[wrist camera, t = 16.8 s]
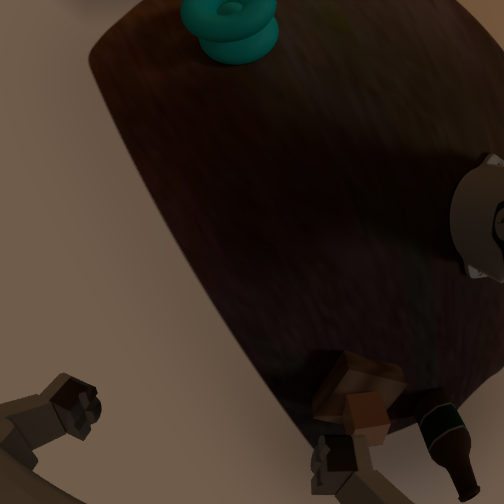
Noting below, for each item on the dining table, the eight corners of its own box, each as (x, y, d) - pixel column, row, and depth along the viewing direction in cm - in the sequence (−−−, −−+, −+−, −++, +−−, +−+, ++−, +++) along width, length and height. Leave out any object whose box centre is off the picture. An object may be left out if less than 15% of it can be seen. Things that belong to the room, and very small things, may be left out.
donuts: (296, 4, 19) (209, 53, 22) (294, 42, 29) (229, 81, 31) (238, -44, 18) (160, 0, 20) (249, -3, 27) (188, 34, 30)
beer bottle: (428, 384, 40) (475, 486, 17) (454, 389, 40) (501, 478, 17) (404, 413, 42) (437, 514, 20) (431, 416, 42) (466, 506, 19)
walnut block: (399, 364, 40) (408, 383, 35) (365, 409, 43) (370, 428, 38) (343, 348, 40) (348, 369, 35) (311, 397, 43) (313, 418, 38)
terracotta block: (378, 390, 36) (390, 423, 29) (372, 412, 37) (382, 444, 30) (346, 394, 36) (355, 429, 30) (342, 416, 38) (348, 449, 31)
